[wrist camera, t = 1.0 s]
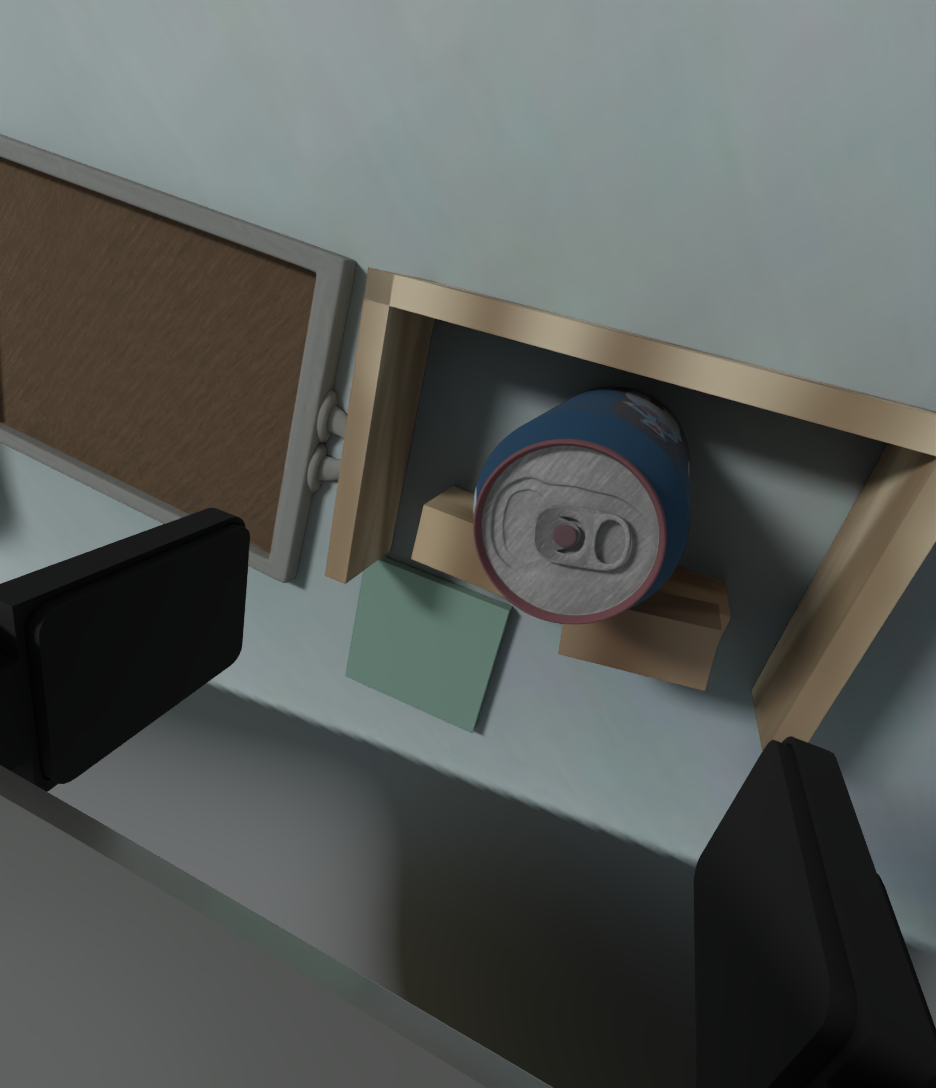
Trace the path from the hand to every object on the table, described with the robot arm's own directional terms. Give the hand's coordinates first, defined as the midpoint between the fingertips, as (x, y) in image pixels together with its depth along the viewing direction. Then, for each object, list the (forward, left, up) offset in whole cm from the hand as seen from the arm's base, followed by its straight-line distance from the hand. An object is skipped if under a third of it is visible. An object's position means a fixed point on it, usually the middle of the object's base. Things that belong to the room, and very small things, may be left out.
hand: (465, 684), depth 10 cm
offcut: (+4, +6, -20) cm, 21 cm away
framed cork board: (+28, +3, -21) cm, 35 cm away
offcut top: (-4, +6, -16) cm, 17 cm away
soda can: (0, 0, -20) cm, 20 cm away
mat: (+7, +14, -20) cm, 25 cm away
